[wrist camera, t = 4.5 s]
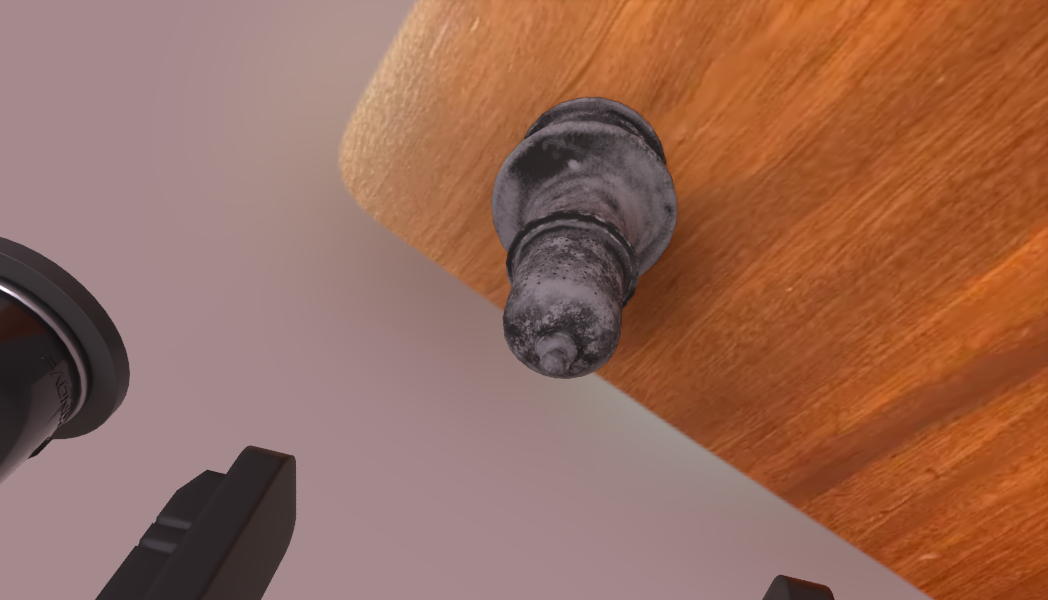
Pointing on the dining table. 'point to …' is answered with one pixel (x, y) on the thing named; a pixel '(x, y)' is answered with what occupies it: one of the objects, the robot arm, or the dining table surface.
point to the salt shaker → (579, 231)
